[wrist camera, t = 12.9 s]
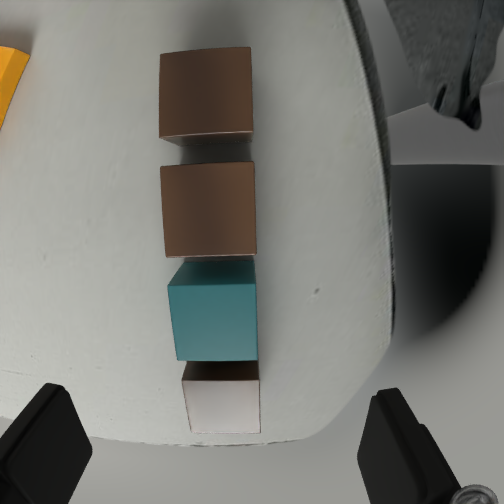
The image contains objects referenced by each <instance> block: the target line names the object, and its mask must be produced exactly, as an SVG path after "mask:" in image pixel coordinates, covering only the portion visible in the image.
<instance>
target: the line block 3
mask: <svg viewBox="0 0 504 504" xmlns="http://www.w3.org/2000/svg"><path fill="white" fill-rule="evenodd" d="M182 386H183V392H184V398H185V403H186V409H187V414H188V419H189V424H190V429H191V433H222V434H237V433H260V432H261V429H260V379H259V362H258V360H243V361H187V363H186V367H185V370H184V373H183V377H182Z"/></svg>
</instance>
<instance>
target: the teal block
mask: <svg viewBox="0 0 504 504" xmlns="http://www.w3.org/2000/svg"><path fill="white" fill-rule="evenodd" d="M167 287H168V296H169V305H170V313H171V321H172V328H173V335H174V342H175V349H176V356H177V360H180V361H243V360H258V339H257V297H256V276H255V264H254V261H253V260H252V261H218V262H184V263H183V264H182V265H181V267H180V268H179V270H178V271H177V273H176V274H175V275H174V277H173V278H172V280H171V281H170V283H169V284H168V286H167Z"/></svg>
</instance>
